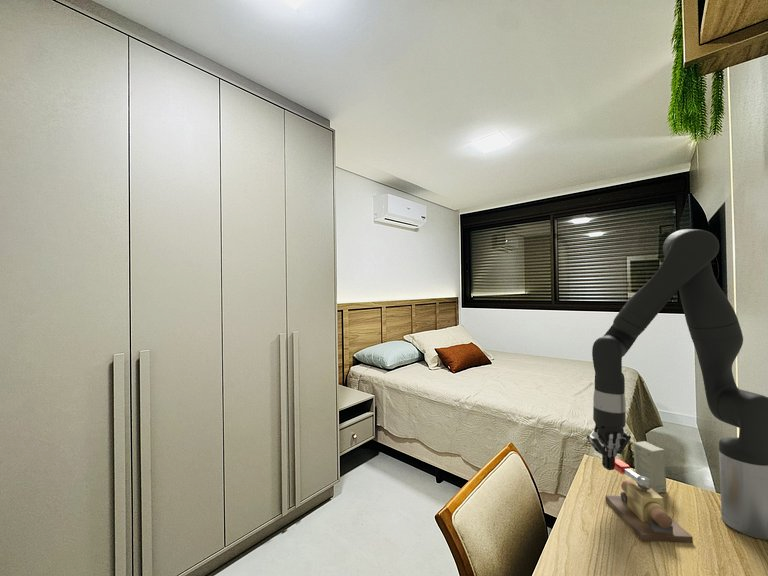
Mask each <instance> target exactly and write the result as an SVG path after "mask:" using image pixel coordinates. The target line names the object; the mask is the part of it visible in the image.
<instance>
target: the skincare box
mask: <svg viewBox="0 0 768 576" xmlns="http://www.w3.org/2000/svg"><path fill="white" fill-rule="evenodd" d="M633 455H634V456H633V458H634V472H635V473H637V474H638V475H640V476H644V477H647V478H649V479H650V485H651V488H652V489H653V490H654V491H655V492H656V493H657V494H659V493H666V492H667V491H668V489H667V479H666V463H665V461H666V460H665V449H664V448H662V447H659V446H657V445H655V444H652V443H650V442H648V441H646V440H643V441H636V442H635V441H634V442H633ZM635 484H638V482H636V481H635Z"/></svg>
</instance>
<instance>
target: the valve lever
mask: <svg viewBox="0 0 768 576" xmlns="http://www.w3.org/2000/svg"><path fill="white" fill-rule="evenodd" d="M614 470H615V471H616V472H618V473H619V474H621V475H626V476H627V477H629V478H631V479H632V480H633V481H634V482H635V483H636V482H638V483H637V484H638V486H639V487H640V488H642V489H646V490H649V489H651V485H650V479H649V478H647V477H644V476H640V475H638V474H637V473H635V470H634V471H633V470H632V469H631V466H630V465H629V464H627V463H626V462H625V461H623V460H621V459H620V458H615V467H614Z"/></svg>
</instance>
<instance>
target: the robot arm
mask: <svg viewBox="0 0 768 576" xmlns="http://www.w3.org/2000/svg"><path fill="white" fill-rule="evenodd" d="M719 251H720V243H719V239H718V238H717V237H716V235H715V234H713V233H712V232H710V231H708V230H704V229H696V228H695V229H694V228H693V229H692V228H685V229H683V228H682V229H679V230H676V231H674V232H672V233H671V234H669V235H668V236H667V237H666V239H665V240H664V242H663V245H662V254H663V256H664V259H663V261H662V263H661V264H660V267H659V268H658V269H657V271H656V272H655V273H654V274H653V275H652V276H651V278H650V279H649V280H648V281H647V282H646V283H645V284H644V285H643V286H642V287H640V288H639V290H637V291H636V292H635V293H634V294H633V295H632V296H631V297H630V298H629V300H627V301H626V303H624V305H623V306H622V308H621V309H620V310H619V312H618V313H617V314H616V315H615V317H614V319H613V323H612V325H611V326H610V327H609V329H608V330H607V331H606V332H605V334H604V335H602V336H601V337H599V338H596V340H595V341H593V344H592V348H591V350H592V351H591V352H592V354H591V356H592V357H591V358H592V362H593V370H594V389H593V403H592V404H593V405H592V407H593V409H592V410H593V411H592V412H593V413H592V414H593V415H592V419H593V422H594V425H595V426H594V428H593V433H592V435H590V434H587V435H586V440H587V441H588V442H589V443H590V445H591V446H592V448H593V449H594V450H595V452H597V453H599V454H600V455H601V460H602V461H601V466H603V468H604V469H606V470H607V471H614V470H615V469H614V467H615V459H616V457H617V455H622V453H623V452H624V451H625V449H626V447H627V445H628V444H629V442H630V441H631V439H632V437H631V435H629V434H627V433H626V432H625V429H624V428H625V427H626V424H627V423H626V422H627V421H626V419H627V418H626V414H627V413H626V412H627V411H626V410H627V408H626V407H627V405H626V404H627V403H626V393H625V392H626V391H625V390H626V387H625V386H626V383H625V381H626V379H625V374H624V373H623V372H622V371H623V367H622V365H623V363H622V362H623V361H622V360H623V357H624V356H625V355H626V354H627V353H628V352H629V350H630V349H631V348H632V347H633V345H634V343H635V342H636V341H637V339H638V337H639V336H640V335H641V334H642V333H643V332H644V331H645V330H646V329H647V328H648V326H649V325H650V324H652V323H651V322H653V321H654V319H655V317H656V316H657V315H658V314H659V313H660V312H661V310H662V309H663V308H664V307H665V306H666V304H668V303H669V301H670V300H671V299H672V298H673V297H674V296H675V294H677V292H679V296H680V302H681V305H682V309H683V313H684V317H685V321H686V325H687V328H688V331H689V335H690V338H691V340H692V343H693V346H694V349H695V352H696V355H697V356H696V357H697V360H698V363H699V366H700V370H701V375H702V380H703V385H704V387H703V388H704V391H705V393H704V394H705V398H706V403H707V406H708V409H709V410H710V413H711V415H713V417H714V418H715V419H717V420H719V421H721V422H723V423H725V424H728V425H730V426H734V427H736V428H739V432H738V433H739V435H738V436H737V437H734V436H732V437H731V436H729V437H728V436H727V437H723V438H720V439H719V442H718V453H719V454H718V457H719V482H720V483H719V485H720V512H721V513H720V514H721V518H720V519H722V522H724V524H726V525H727V526H728V527H730V528H731V529H733V530H734V531H737V532H738V533H742V535H743V534H744V535H746V536H748V537H751V538H755V539H760V540H767V541H768V396H766V395H763V394H759V393H756V392H751V391H747V390H744V389H740V388H739V387H738V386H737V383H736V382H735V378H734V375H733V374H734V373H733V366H734V365H733V364H734V361H735V360H736V358H737V356H739V355H738V354H739V353H740V352H741V349H742V346H743V343H744V336H743V332H742V329H741V325H740V322H739V318H738V316H737V313H736V312H735V309H734V307H733V306H732V304H731V302H730V301H729V298H728V297H727V296H726V294H725V293H724V291H723V290H722V287H720V285H719V283H718V281H717V279H716V277H715V274H714V271H713V267H712V262H711V261H713V260H714V259H715V258H716V256H717V255H718V254H719Z"/></svg>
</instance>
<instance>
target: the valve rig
mask: <svg viewBox="0 0 768 576" xmlns="http://www.w3.org/2000/svg"><path fill="white" fill-rule="evenodd" d="M620 487H621V489H622V492H620V495H610V494H609V495H605V502H606V503H607V504H608V506H610V507H611V509H613V511H614V512H615V513H616V514H617V515H618V516H619V517H620V518H621V519H622V521H623V522H624V523H625V524H626V526H628V527H629V528H630V529H631V530H632V532H633V533H634V534H635V535H636V536H637V537H638V539H639V540H640V541H641V542H653V543H654V542H656V543H674V544H675V543H677V544H678V543H679V544H693V542H694V538H693V536H692V535H691V534H690V533H689V532H688V531H687V530H686V529H685V528H683V527H682V526H681V525H680V524H679V523H678V522H676V520H675V519H673V518H672V517H671V516H670V515H669V514H668V513H667V511H666V509H665V508H664V497H663V496H661V495H660V494H659V493H656V492H655V491H654V490H653V489H652V488H651V489H649V490H646V489H642V488H640V487H639V486H638V483H633V482H632V481H631V480H624V481H622V483H621V485H620Z"/></svg>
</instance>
